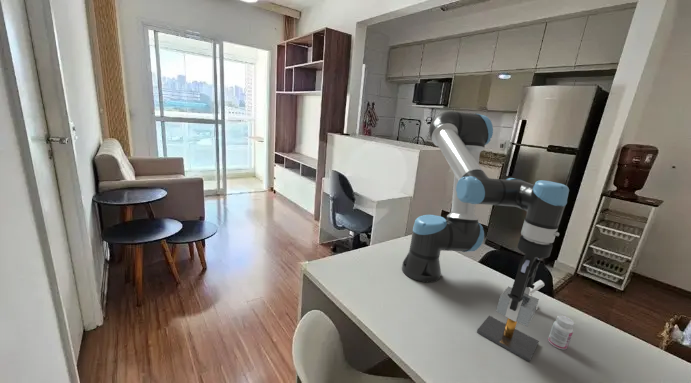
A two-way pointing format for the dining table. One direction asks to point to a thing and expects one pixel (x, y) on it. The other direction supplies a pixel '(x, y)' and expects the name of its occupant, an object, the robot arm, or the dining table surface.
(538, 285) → the vr controller
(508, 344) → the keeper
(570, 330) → the pill bottle
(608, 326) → the dining table surface
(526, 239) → the robot arm
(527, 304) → the grey square socket block
